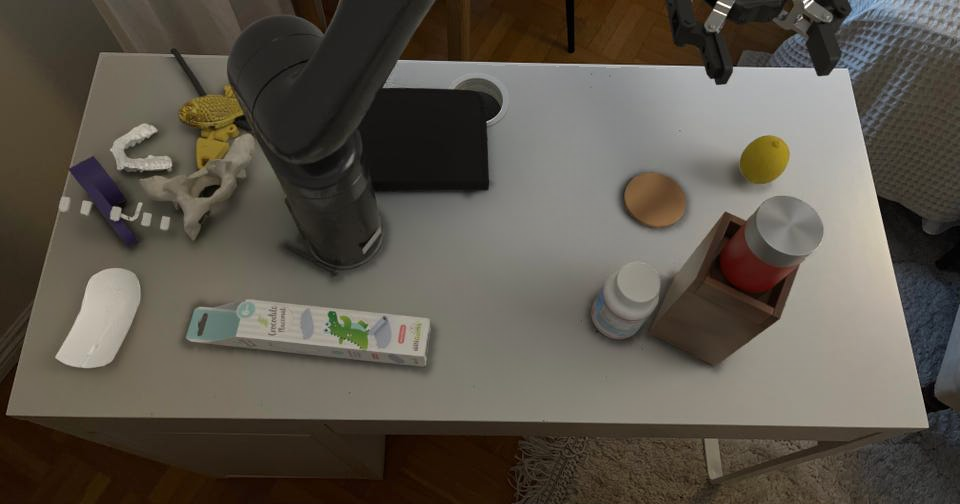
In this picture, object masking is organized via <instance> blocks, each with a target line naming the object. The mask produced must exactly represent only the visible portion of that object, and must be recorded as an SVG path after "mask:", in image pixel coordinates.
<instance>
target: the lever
mask: <svg viewBox="0 0 960 504" xmlns="http://www.w3.org/2000/svg"><path fill="white" fill-rule="evenodd" d="M67 170H68V171H69V173H70V174H71V175H72V177H73V178H74V179H75V180H76V182H77V183H78V184H79V186H80V187H81V188H82V189H83V191H84V193H86V195H87V196H88V197H89V199H90V200H91V202H92V201H93V205H95V206H96V208H97V209H98V210H99V212H100V213H101V214H102V215H103V217H104V218H105V220H106V221H107V222H108V223H109V225H110V226H111V228H113V230H114V231H115V233H117V235H118V237H119V238H120V239H121V240H122V241H123V243H124V244H125V245H126V246H127V248H130V247H131V246H133V245H134V244H137V243H138V242H139V241H138V239H137V238H136V237H135V235H134V234H133V233H132V231H131V230H130V229H129V227H128V225H126V223H125V222H124V221H123V220H122V217H120V219H119V221H114V220H111V219H110V216H111V215H110V212H111V211H112V208H113V206H115V207H117V206H118V205H120V204H122V203H123V202H126V201H127V199H126V197H125V195H124V194H123V192H122V191H121V190H120V188H119V186H118V185H117V184H116V183H115V181H114V180H113V179H112V177H111V176H110V174H108V172H107V171H106V169H105V168H104V167H103V166H102V164H101V163H100V162H99V161H98V159H97V158H96V157H95V156H94V155H92V156H90V157H88V158H87V159H86V158H85V160H82V161H80V162H79V163H77V164H75V165H73V166H71V167H68V169H67Z"/></svg>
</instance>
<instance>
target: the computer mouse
mask: <svg viewBox="0 0 960 504" xmlns="http://www.w3.org/2000/svg"><path fill="white" fill-rule="evenodd" d="M141 292H142V291H141V286H140V281H139V279H138V276H137V275H136V274H135V273H134V272H133V271H131V270H129V269H125V268H120V267H112V268H105V269H103V270H100V271H98V272H97V273H95V274H93V275H92V276H91V277H90V278H89V280H88V282H87V284H86V287H85V291H84V296H83V298H82V302H81V307H80V310H79V312H78V315H76V318H75V321H74V323H73V324H72V327H71V329H70V330H69V332H68V335H67V336H66V338H65V340H64V341H63V343H62V345H61V346H60V348H59V350H58V352H57V353H56V355H55V356H54V358H55V359H56V360H58V362H61V364H63V365H66V366H69V367H74V368H78V369H80V368H83V369H94V368H101V367H105V366H106V365H108V364H110V363H111V362H113V360H114V359H115V357H116V355H117V353H118V352H119V350H120V348H121V346H122V344H123V342H124V340H125V338H126V336H127V334H128V332H129V330H130V328H131V326H132V323H133V321H134V319H135V316H136V314H137V312H138V311H137V310H138V308H139V306H140V305H141V304H140V303H141V297H142V295H141V294H142V293H141Z"/></svg>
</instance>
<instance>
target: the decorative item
mask: <svg viewBox="0 0 960 504" xmlns="http://www.w3.org/2000/svg"><path fill="white" fill-rule="evenodd" d="M177 116H178V119H179V121H180V122H181V124H183V125H185V126H187V127H189V128H195V129H201V130H202V129H216V128H220V127H223V126H226V125H228V124H231V123H233V122H235V121H237V120H241V119H246V117H245V115H244V113H243V111H242V109H241V107H240V105H239V103H238V101H237V99H236V97H229V96H225V95H222V94H207V95H206V96H202V97H201V96H199V97H195V98H193V99H191V100H189V101H187V102H185V103H184V104H182V105H181V106H180V108H179V109H178V112H177Z"/></svg>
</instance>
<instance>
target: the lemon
mask: <svg viewBox="0 0 960 504" xmlns="http://www.w3.org/2000/svg"><path fill="white" fill-rule="evenodd" d="M790 154H791V153H790V148H789V146H788V144H787V142H786V141H785V140H783V139H782V138H780V137H778V136H776V135H770V134H769V135H762V136H759V137H756V138H755V139H754V140H753V141H750V143H748V145H747V146H746V147H745V148H744V149H743V151H742V152H741V154H740V158H739V171H740V172H741V175H742V176H743V177H744V179H745V180H747V181H748V182H750V183H753V184H757V185H766V184H769V183H771V182H773V181H775V180H777V179H778V178H779V177H780V176H781V175H782V174H783V173H784V172H785V171H786V169H787V167H788V164H789V162H790Z"/></svg>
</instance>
